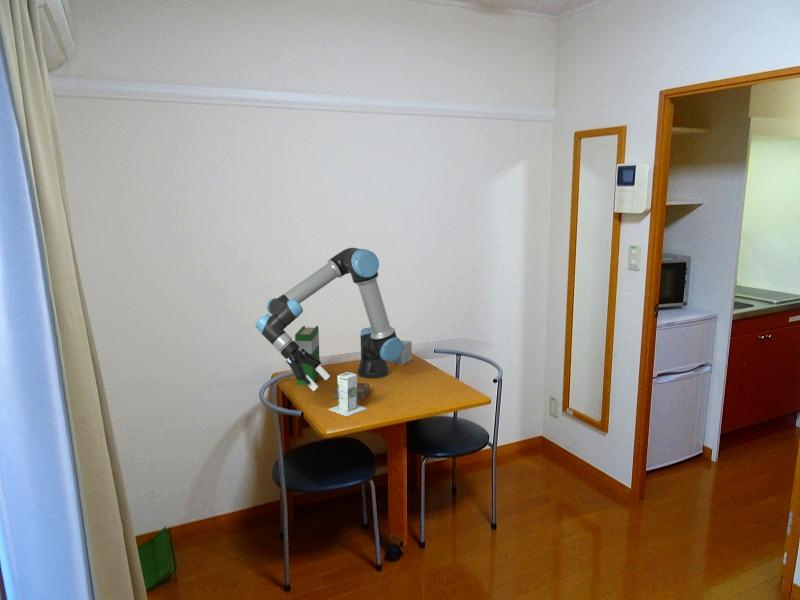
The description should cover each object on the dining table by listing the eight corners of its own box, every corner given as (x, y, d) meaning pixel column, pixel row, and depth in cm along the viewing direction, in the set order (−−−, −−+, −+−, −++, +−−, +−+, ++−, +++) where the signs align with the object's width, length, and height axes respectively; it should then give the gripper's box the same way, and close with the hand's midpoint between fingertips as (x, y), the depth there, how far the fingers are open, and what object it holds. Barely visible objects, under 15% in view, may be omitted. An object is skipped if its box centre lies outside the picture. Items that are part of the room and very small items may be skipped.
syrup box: (347, 404, 238) (346, 371, 235) (357, 407, 234) (357, 373, 231) (337, 408, 233) (336, 374, 231) (348, 412, 230) (347, 377, 227)
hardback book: (305, 373, 282) (303, 325, 277) (320, 373, 281) (318, 325, 277) (297, 385, 264) (294, 334, 260) (312, 385, 264) (311, 334, 259)
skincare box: (401, 358, 305) (401, 339, 304) (412, 360, 302) (412, 341, 300) (391, 363, 297) (390, 344, 295) (401, 365, 293) (401, 345, 291)
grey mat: (349, 402, 241) (349, 401, 241) (366, 409, 234) (366, 408, 234) (328, 409, 233) (328, 408, 233) (346, 416, 226) (346, 415, 226)
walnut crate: (343, 390, 257) (343, 381, 256) (369, 392, 254) (368, 383, 253) (334, 399, 245) (334, 390, 244) (360, 401, 242) (360, 392, 242)
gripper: (293, 344, 248) (327, 379, 247) (267, 360, 224) (304, 399, 223) (304, 332, 246) (338, 368, 245) (278, 348, 222) (316, 387, 221)
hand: (322, 383), depth 234 cm, fingers open, 13 cm apart
